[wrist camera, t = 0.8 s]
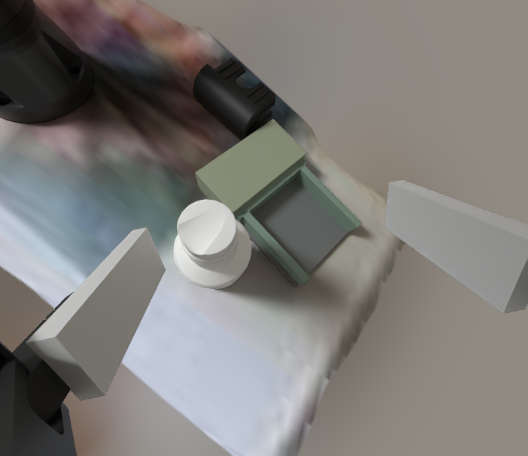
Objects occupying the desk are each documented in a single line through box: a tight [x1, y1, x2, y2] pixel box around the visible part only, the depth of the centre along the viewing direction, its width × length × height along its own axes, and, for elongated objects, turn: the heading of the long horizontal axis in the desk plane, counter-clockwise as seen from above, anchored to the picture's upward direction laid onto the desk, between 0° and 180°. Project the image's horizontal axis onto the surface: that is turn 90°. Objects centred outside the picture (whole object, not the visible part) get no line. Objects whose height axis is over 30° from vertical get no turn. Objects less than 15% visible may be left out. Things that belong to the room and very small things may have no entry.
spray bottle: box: [173, 200, 252, 289], centre depth 22 cm, size 7×7×18 cm
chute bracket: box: [195, 119, 362, 287], centre depth 32 cm, size 20×14×4 cm
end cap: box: [193, 58, 275, 140], centre depth 34 cm, size 10×7×7 cm
